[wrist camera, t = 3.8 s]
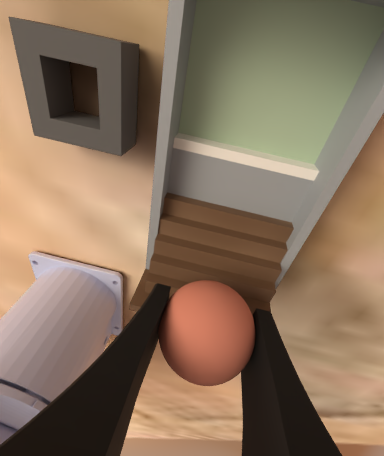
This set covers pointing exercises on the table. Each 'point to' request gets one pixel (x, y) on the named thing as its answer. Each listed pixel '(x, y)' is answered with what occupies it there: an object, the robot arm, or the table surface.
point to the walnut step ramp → (216, 250)
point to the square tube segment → (62, 88)
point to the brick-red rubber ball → (207, 333)
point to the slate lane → (266, 105)
